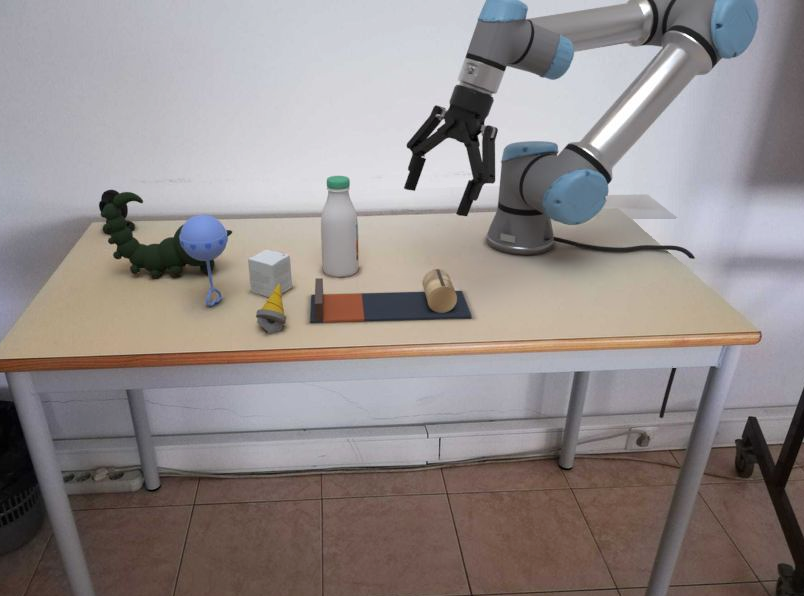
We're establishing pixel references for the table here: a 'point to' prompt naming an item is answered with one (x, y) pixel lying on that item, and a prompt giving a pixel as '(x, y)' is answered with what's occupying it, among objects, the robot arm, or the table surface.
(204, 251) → the baby rattle
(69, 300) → the table surface
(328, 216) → the milk bottle
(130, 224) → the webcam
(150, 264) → the toy figurine
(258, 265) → the product box
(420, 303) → the board
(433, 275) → the roller
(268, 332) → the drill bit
